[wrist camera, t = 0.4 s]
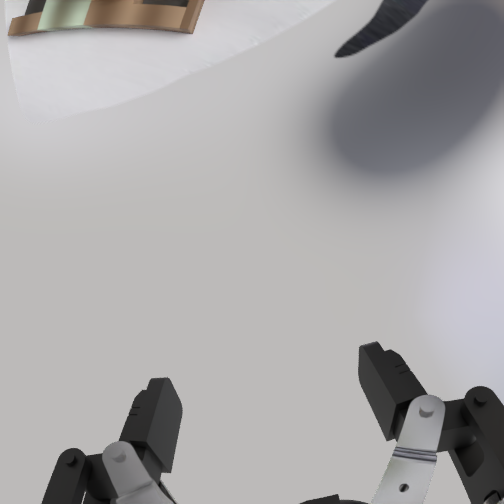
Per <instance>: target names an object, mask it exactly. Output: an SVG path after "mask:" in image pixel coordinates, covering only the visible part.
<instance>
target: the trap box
mask: <svg viewBox="0 0 504 504" xmlns="http://www.w3.org/2000/svg"><path fill="white" fill-rule="evenodd" d="M204 1H205V0H30V1H29V4H28V7H27V10H26V13H25V15H24V16H20V17H16V18H12V21H11V25H10V29H9V32H8V36H22V35H27V34H33V33H40V32H47V31H56V30H66V29H79V28H141V29H155V30H165V31H174V32H182V33H189V34H193V32H194V29H195V26H196V23H197V20H198V17H199V14H200V11H201V9H202V6H203V3H204Z"/></svg>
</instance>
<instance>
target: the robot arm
mask: <svg viewBox="0 0 504 504" xmlns="http://www.w3.org/2000/svg"><path fill="white" fill-rule="evenodd" d="M358 375H359V381H360V384H361V387H362V389H363V391H364V393H365V395H366V397H367V399H368V402H369V404H370V406H371V408H372V410H373V412H374V414H375V416H376V419H377V420H378V423H379V425H380V427H381V430H382V432H383V434H384V436H385V438H386V441H389V440H392V439H396V441H397V445H396V447H395V450H394V452H393V454H392V457H391V460H390V462H389V464H388V467H387V469H386V471H385V474H384V476H383V478H382V480H381V483H380V485H379V487H378V489H377V491H376V494H375V495H374V497H373V499H372V501H371V503H370V504H423V502H424V499H425V496H426V493H427V491H428V487H429V485H430V481H431V478H432V475H433V472H434V468H435V465H436V461H437V456H436V453H437V452H442V451H448V452H449V454H450V456H451V459H452V461H453V463H454V465H455V467H456V469H457V471H458V474H459V476H460V478H461V480H462V483H463V485H464V487H465V490H466V492H467V494H468V497H469V499H470V501H471V504H504V405H503V404H502V403H501V401H500V400H499V399H498V397H497V396H496V395H495V393H494V392H493V391H492V390H491V389H489V388H487V387H484V386H477V387H474V388H472V389H470V390H469V391H468V392H467V393H466V395H465V398H464V399H459V400H453V401H442V400H441V399H440V398H438V397H436V396H434V395H428V394H427V393H426V391H425V390H424V388H423V387H422V385H421V384H420V382H419V381H418V380H417V378H416V377H415V375H414V374H413V372H412V371H410V368H409V367H408V365H406V363H405V361H404V360H403V358H402V357H401V356H400V355H399V354H397V353H396V352H394V351H392V350H387V351H384V350H383V348H382V347H381V345H380V344H379V343H378V342H377V341H376V342H372V343H369V344H365V345H361V346H360V347H359V367H358ZM181 418H182V404H181V401H180V399H179V397H178V395H177V393H176V391H175V389H174V387H173V384H172V382H171V380H170V379H169V378H152V379H151V380H150V382H149V384H148V387H147V390H142V391H141V392H140V393H139V394H138V395H137V396H136V397H135V399H134V401H133V404H132V409H131V410H130V412H129V416H128V417H127V420H126V422H125V425H124V427H123V430H122V433H121V436H120V438H119V441H118V442H114V443H112V444H110V445H109V446H107V447H106V448H105V450H104V451H103V453H102V454H95V455H88V456H86V455H85V454H84V453H83V452H82V451H81V450H79V449H77V448H71V449H67V450H65V451H64V452H63V453H62V454H61V455H60V456H59V458H58V461H57V464H56V466H55V469H54V471H53V473H52V476H51V479H50V482H49V484H48V487H47V490H46V492H45V495H44V498H43V501H42V504H81V503H82V500H83V496H84V493H85V492H86V494H85V498H84V501H83V504H178V503H177V502H176V500H175V499H174V497H173V496H172V495H171V493H170V492H169V490H168V489H167V488H166V486H165V485H164V483H163V482H162V480H160V477H161V472H162V473H171V470H172V465H173V459H174V454H175V449H176V444H177V438H178V433H179V428H180V423H181ZM300 504H368V503H365V502H361V501H354V500H339V496H338V494H336V495H332V496H327V497H323V498H319V499H313V500H308V501H305V502H303V503H300Z"/></svg>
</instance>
